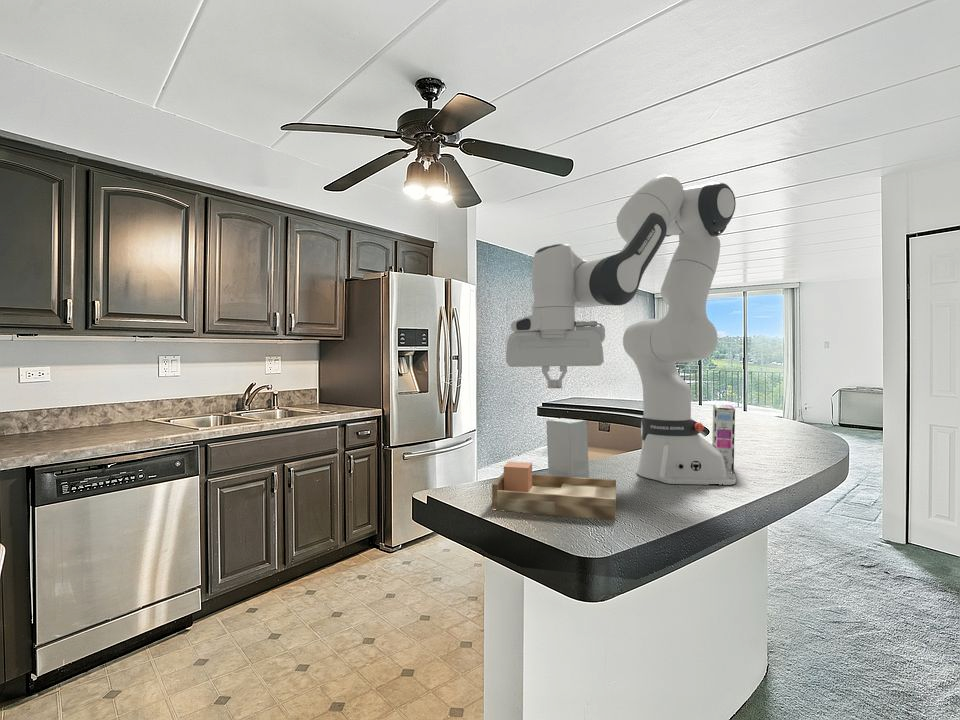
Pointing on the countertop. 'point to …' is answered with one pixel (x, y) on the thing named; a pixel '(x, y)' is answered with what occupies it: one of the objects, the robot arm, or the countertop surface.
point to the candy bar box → (724, 433)
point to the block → (518, 476)
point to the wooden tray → (560, 497)
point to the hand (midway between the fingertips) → (554, 388)
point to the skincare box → (567, 448)
